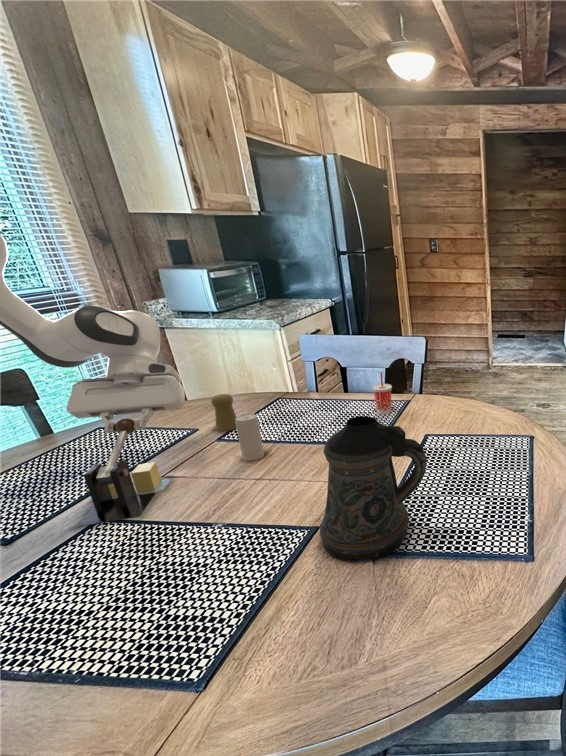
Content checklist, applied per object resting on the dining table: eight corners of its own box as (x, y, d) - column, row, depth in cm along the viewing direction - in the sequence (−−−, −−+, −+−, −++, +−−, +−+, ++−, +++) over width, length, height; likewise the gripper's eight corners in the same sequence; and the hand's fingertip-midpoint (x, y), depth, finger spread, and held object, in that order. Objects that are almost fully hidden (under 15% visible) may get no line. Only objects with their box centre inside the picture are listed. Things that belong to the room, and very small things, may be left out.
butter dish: (95, 504, 89) (93, 500, 89) (106, 491, 93) (105, 487, 93) (164, 493, 93) (162, 490, 93) (171, 482, 98) (170, 478, 97)
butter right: (137, 492, 92) (130, 473, 90) (144, 483, 95) (138, 464, 94) (155, 490, 93) (149, 470, 91) (161, 480, 96) (156, 461, 95)
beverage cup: (396, 408, 143) (393, 370, 139) (389, 415, 137) (386, 375, 133) (379, 407, 144) (375, 369, 139) (371, 414, 138) (368, 374, 133)
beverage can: (261, 452, 112) (254, 412, 108) (267, 459, 109) (259, 417, 105) (241, 458, 109) (232, 416, 105) (246, 465, 106) (237, 422, 102)
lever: (121, 426, 94) (114, 416, 92) (141, 424, 95) (134, 414, 93) (98, 487, 84) (89, 477, 81) (120, 484, 85) (112, 474, 82)
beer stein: (313, 527, 84) (295, 414, 76) (403, 496, 95) (397, 395, 87) (334, 579, 72) (317, 451, 64) (436, 537, 83) (432, 423, 75)
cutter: (100, 504, 89) (84, 460, 85) (157, 495, 93) (145, 453, 89) (77, 531, 81) (59, 483, 78) (141, 520, 85) (126, 474, 81)
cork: (244, 428, 125) (237, 394, 122) (222, 435, 120) (214, 400, 117) (234, 423, 128) (227, 390, 125) (212, 430, 123) (204, 396, 120)
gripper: (65, 372, 91) (54, 431, 86) (179, 365, 98) (174, 419, 93) (82, 385, 96) (72, 441, 91) (189, 377, 104) (185, 429, 98)
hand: (125, 430), depth 92 cm, fingers closed on lever, 4 cm apart
